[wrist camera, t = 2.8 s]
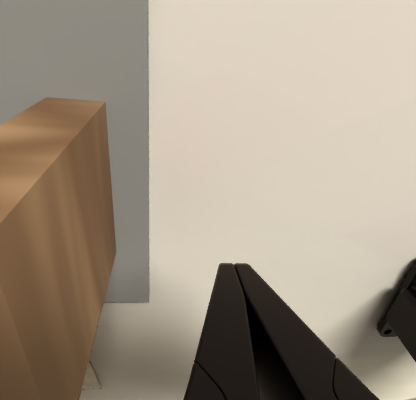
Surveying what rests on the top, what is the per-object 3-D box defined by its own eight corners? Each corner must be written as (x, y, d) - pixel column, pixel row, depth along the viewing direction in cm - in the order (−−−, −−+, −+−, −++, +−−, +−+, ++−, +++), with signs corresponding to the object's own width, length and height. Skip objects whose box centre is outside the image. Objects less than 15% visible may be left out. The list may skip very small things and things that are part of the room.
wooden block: (105, 101, 11) (-15, 240, 4) (116, 252, 14) (62, 462, 8) (38, 96, 11) (-214, 237, 4) (66, 251, 14) (-37, 470, 7)
